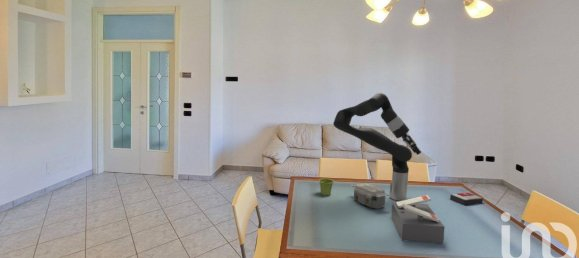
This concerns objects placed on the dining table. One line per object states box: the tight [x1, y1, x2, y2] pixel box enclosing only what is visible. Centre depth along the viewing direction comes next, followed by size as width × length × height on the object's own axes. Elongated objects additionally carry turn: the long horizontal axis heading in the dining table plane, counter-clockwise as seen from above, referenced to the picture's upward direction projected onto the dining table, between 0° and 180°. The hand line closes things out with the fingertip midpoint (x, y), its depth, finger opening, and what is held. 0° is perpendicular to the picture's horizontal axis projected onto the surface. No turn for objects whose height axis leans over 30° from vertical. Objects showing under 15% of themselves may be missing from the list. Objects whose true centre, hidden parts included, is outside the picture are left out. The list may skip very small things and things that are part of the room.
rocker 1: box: [395, 194, 432, 208], centre depth 174 cm, size 6×16×1 cm, turn 83°
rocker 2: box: [403, 203, 441, 222], centre depth 159 cm, size 6×16×1 cm, turn 83°
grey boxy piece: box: [350, 183, 390, 209], centre depth 202 cm, size 12×28×10 cm, turn 22°
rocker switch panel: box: [390, 201, 446, 244], centre depth 167 cm, size 28×18×10 cm, turn 173°
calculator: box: [449, 192, 484, 207], centre depth 210 cm, size 11×4×15 cm
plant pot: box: [318, 178, 334, 196], centre depth 216 cm, size 9×9×9 cm
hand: (417, 152), depth 172 cm, fingers open, 8 cm apart
